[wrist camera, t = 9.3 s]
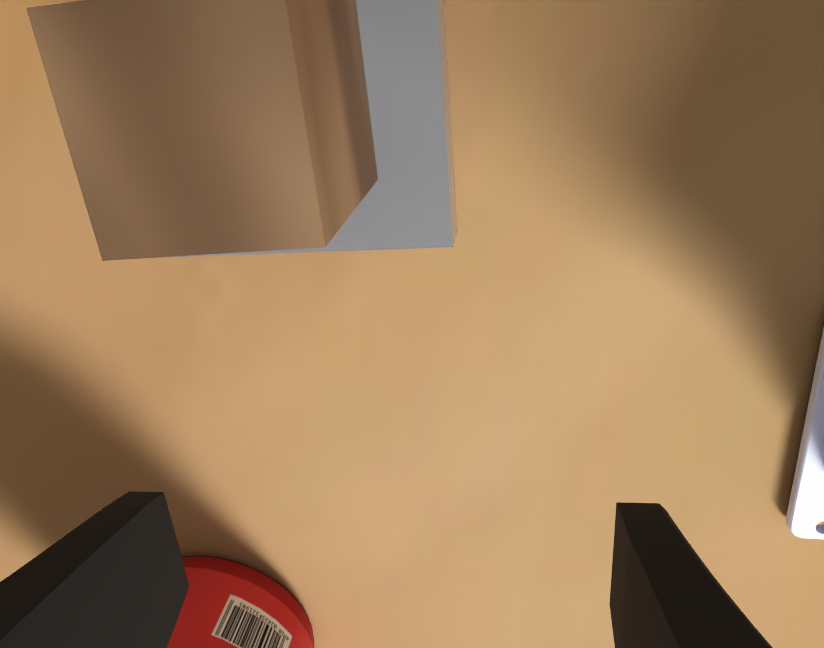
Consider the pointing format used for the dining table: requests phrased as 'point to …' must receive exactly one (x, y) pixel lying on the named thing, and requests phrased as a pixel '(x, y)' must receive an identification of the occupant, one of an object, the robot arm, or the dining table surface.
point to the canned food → (237, 609)
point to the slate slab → (403, 132)
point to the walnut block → (211, 120)
